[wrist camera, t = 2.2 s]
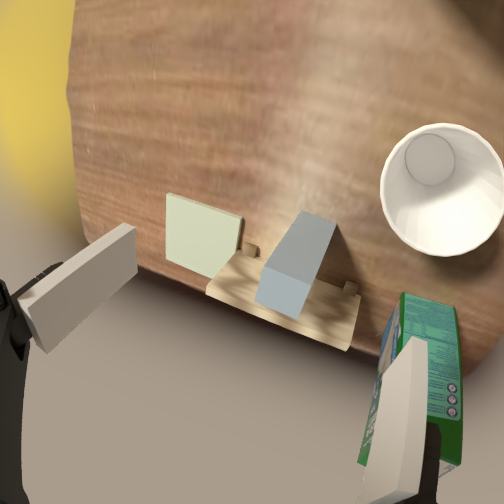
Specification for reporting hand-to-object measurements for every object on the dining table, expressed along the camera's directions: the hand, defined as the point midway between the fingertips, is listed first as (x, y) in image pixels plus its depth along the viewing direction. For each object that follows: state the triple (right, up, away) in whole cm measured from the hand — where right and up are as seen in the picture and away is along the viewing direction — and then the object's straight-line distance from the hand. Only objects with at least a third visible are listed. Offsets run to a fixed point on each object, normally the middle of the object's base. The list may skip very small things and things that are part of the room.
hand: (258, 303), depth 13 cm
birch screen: (+7, -1, +34) cm, 35 cm away
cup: (+21, +13, +18) cm, 31 cm away
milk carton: (+25, -8, +30) cm, 40 cm away
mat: (-9, +4, +38) cm, 39 cm away
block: (+8, +5, +30) cm, 31 cm away
